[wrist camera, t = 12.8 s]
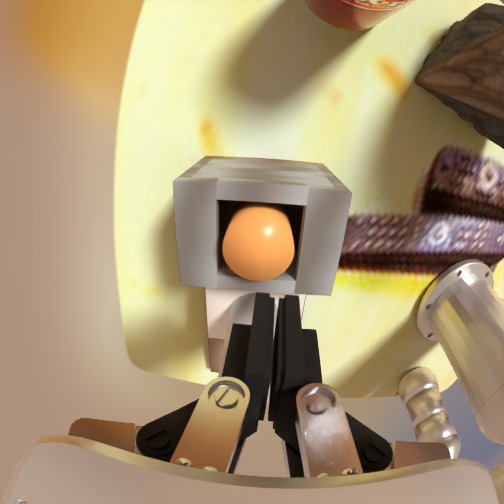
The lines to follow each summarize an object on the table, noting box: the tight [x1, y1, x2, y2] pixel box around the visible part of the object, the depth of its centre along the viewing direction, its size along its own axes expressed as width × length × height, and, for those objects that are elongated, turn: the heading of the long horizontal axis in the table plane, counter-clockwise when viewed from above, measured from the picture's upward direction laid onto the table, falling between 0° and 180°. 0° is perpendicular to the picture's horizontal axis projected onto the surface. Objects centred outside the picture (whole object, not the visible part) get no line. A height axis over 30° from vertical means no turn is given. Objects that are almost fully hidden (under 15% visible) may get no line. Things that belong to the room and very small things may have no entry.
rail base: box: [173, 156, 352, 372], centre depth 25 cm, size 10×26×9 cm, turn 177°
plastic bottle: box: [399, 367, 461, 459], centre depth 27 cm, size 6×7×20 cm
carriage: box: [205, 288, 306, 405], centre depth 21 cm, size 8×7×12 cm
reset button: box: [222, 201, 294, 281], centre depth 17 cm, size 4×4×4 cm
